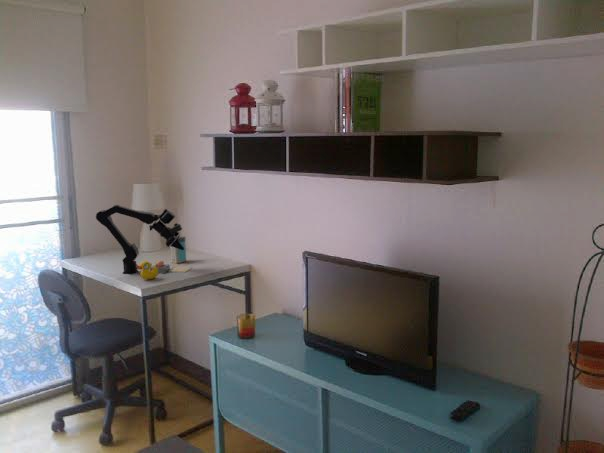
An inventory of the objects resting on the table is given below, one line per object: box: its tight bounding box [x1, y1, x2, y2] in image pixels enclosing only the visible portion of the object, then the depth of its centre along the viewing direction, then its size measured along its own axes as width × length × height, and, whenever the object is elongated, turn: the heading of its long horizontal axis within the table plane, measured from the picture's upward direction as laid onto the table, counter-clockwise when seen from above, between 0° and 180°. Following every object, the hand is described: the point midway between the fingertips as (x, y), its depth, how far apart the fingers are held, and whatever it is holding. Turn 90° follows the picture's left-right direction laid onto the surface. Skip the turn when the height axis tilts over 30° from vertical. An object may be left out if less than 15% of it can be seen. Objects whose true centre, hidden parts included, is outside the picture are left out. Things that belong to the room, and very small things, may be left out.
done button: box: [155, 260, 165, 267], centre depth 311 cm, size 4×4×3 cm
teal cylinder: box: [177, 236, 187, 262], centre depth 311 cm, size 4×4×13 cm
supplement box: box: [169, 246, 187, 265], centre depth 331 cm, size 8×5×13 cm, turn 145°
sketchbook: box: [167, 266, 193, 273], centre depth 313 cm, size 11×10×1 cm
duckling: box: [136, 260, 159, 281], centre depth 293 cm, size 11×5×10 cm, turn 123°
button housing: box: [149, 263, 171, 274], centre depth 311 cm, size 8×8×3 cm
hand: (184, 248), depth 311 cm, fingers closed on teal cylinder, 4 cm apart
